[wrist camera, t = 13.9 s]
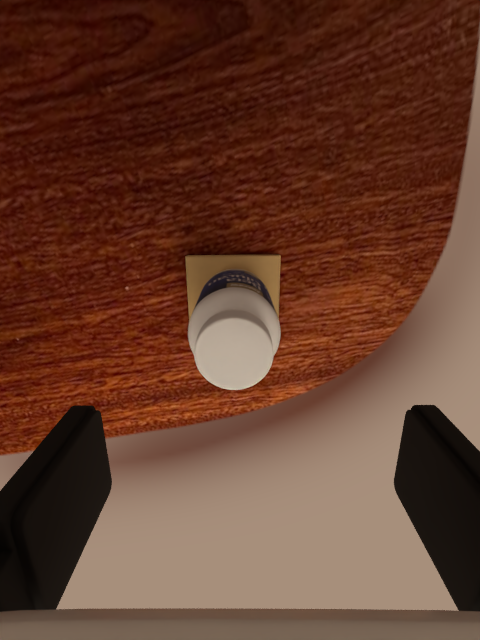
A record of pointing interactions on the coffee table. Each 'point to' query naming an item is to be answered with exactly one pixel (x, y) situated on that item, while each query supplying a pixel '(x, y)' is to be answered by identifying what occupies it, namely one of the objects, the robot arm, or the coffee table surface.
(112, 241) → the coffee table surface
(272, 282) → the mat
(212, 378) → the pill bottle
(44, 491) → the robot arm
